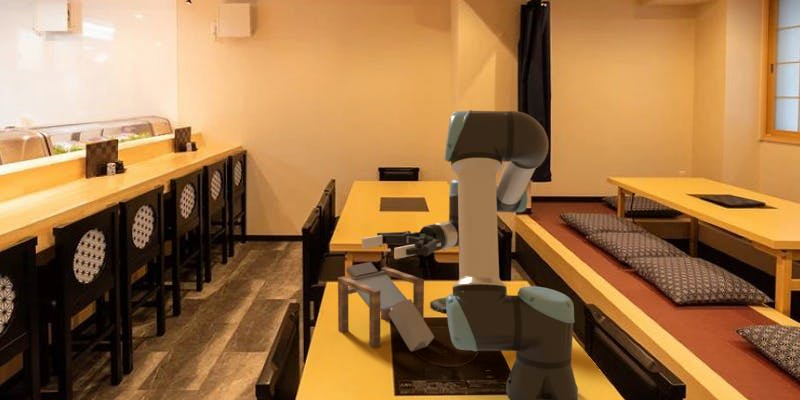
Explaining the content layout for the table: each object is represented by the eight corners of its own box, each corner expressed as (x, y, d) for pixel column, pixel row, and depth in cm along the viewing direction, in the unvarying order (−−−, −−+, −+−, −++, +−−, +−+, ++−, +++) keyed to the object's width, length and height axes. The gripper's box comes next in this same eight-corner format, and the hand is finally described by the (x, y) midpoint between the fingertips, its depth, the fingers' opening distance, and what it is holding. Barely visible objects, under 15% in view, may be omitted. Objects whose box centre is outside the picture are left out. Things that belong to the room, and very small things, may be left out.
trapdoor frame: (423, 332, 172) (424, 279, 169) (374, 348, 161) (374, 292, 158) (386, 316, 184) (386, 267, 181) (338, 330, 173) (337, 277, 170)
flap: (407, 304, 172) (409, 300, 171) (372, 313, 164) (374, 309, 163) (374, 264, 181) (376, 260, 181) (340, 272, 174) (341, 267, 173)
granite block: (402, 309, 168) (425, 347, 163) (388, 313, 165) (411, 352, 159) (410, 299, 165) (434, 337, 160) (396, 302, 162) (419, 341, 156)
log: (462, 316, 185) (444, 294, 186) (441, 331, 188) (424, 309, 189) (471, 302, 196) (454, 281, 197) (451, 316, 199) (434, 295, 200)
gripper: (469, 258, 169) (409, 272, 155) (408, 241, 187) (350, 253, 174) (470, 231, 167) (410, 243, 154) (408, 217, 186) (350, 226, 173)
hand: (378, 248), depth 164 cm, fingers open, 13 cm apart
